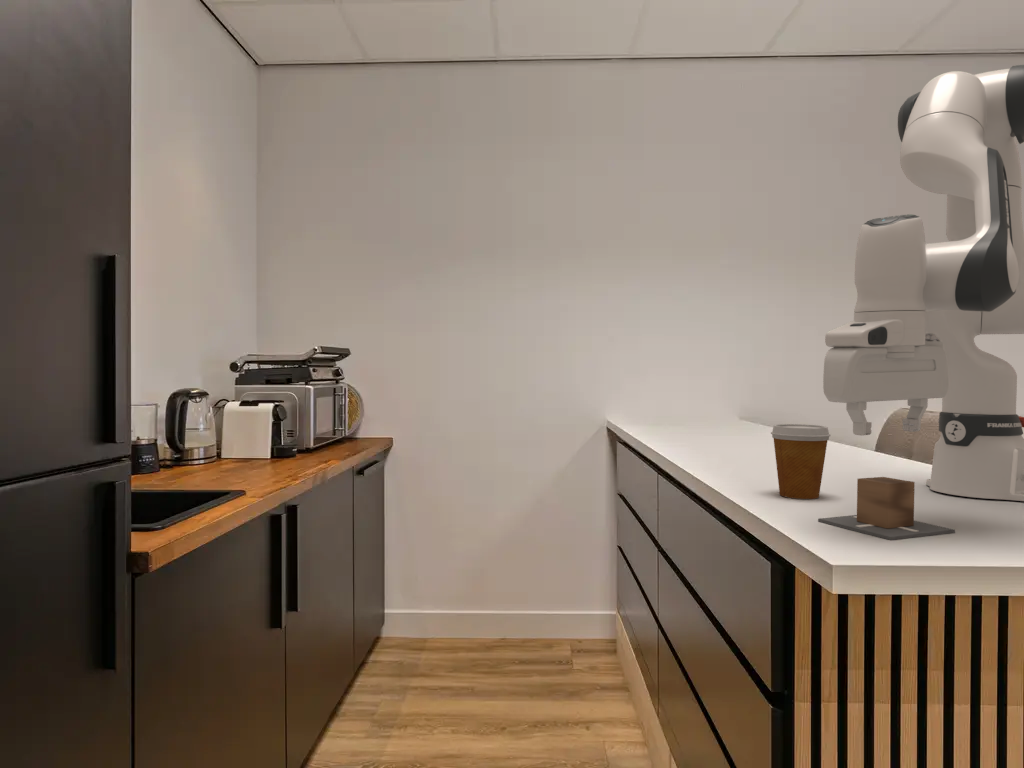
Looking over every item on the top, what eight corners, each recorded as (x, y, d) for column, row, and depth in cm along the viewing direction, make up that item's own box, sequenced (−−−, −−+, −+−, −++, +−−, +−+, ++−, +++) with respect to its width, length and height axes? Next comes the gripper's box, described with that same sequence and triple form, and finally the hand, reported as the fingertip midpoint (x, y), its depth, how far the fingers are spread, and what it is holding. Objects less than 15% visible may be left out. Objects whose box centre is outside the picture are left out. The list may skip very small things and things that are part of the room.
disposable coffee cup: (818, 491, 130) (820, 424, 129) (837, 501, 120) (838, 429, 120) (763, 490, 131) (764, 423, 130) (777, 500, 121) (779, 428, 121)
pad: (879, 515, 109) (879, 512, 109) (955, 532, 98) (955, 529, 98) (818, 521, 105) (818, 518, 105) (890, 540, 94) (890, 536, 94)
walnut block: (882, 518, 105) (883, 476, 105) (913, 525, 100) (914, 482, 100) (856, 521, 103) (857, 478, 103) (887, 528, 98) (888, 484, 98)
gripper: (921, 333, 108) (919, 426, 109) (815, 334, 100) (814, 434, 101) (962, 332, 102) (960, 431, 103) (853, 333, 94) (851, 439, 95)
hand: (887, 433), depth 102 cm, fingers open, 8 cm apart
